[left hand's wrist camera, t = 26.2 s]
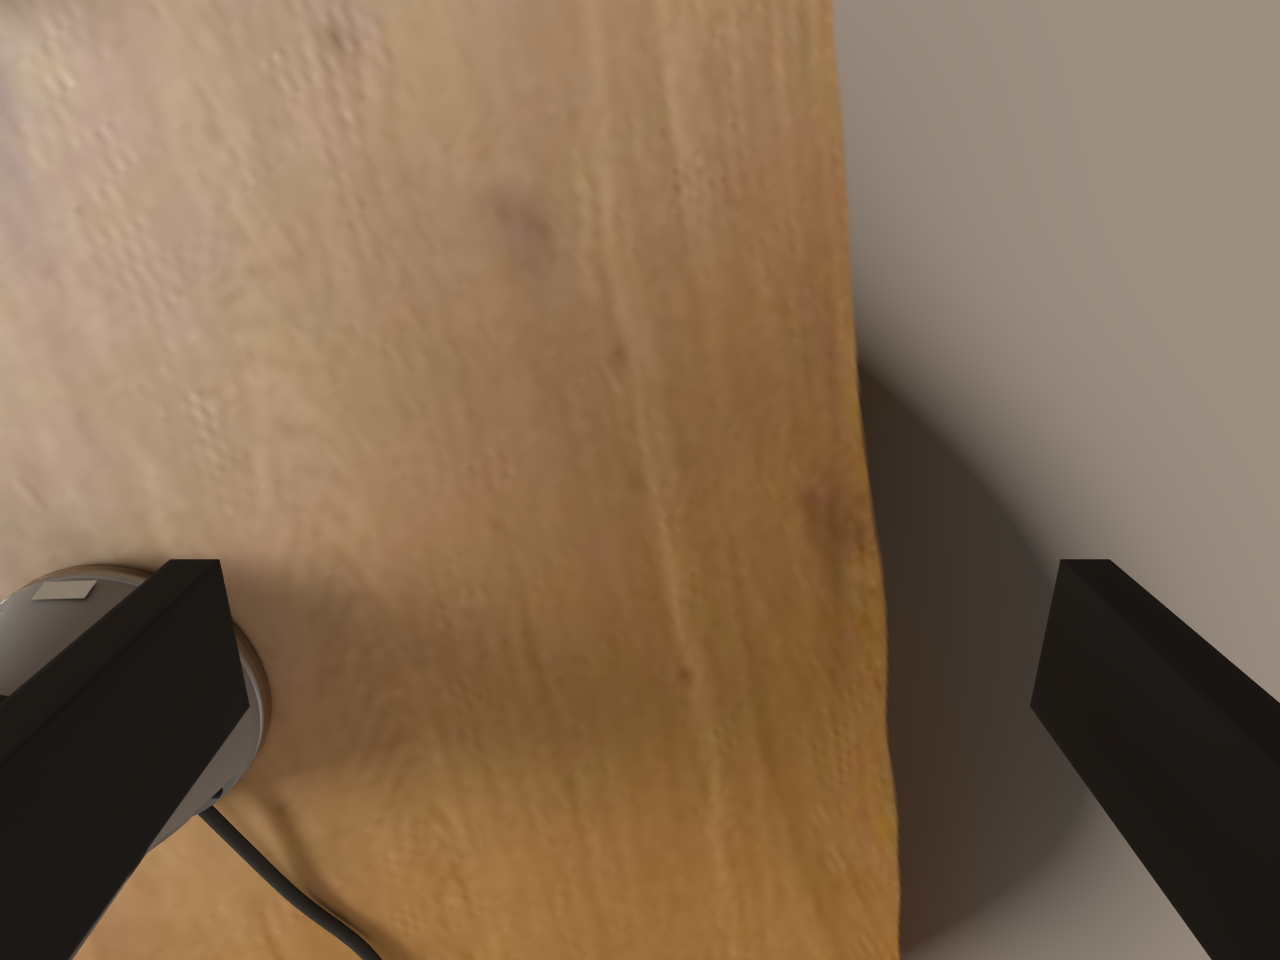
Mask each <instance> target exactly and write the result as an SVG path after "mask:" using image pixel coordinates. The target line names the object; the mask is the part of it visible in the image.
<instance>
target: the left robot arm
mask: <svg viewBox="0 0 1280 960" xmlns="http://www.w3.org/2000/svg"><path fill="white" fill-rule="evenodd" d="M1030 707H1031V708H1032V710H1033V711H1034V713H1035V714H1036V715H1037V717H1038V718H1039V720H1040V721H1041V722H1042V724H1043V725H1044V727H1045V728H1046V729H1047V731H1048V732H1049V734H1050V735H1051V736H1052V738H1053V739H1054V741H1055V742H1056V743H1057V745H1058V746H1059V748H1060V749H1061V750H1062V752H1063V753H1064V754H1065V756H1066V757H1067V759H1068V760H1069V761H1070V763H1071V764H1072V766H1073V767H1074V768H1075V770H1076V771H1077V773H1078V774H1079V775H1080V777H1081V778H1082V780H1083V781H1084V782H1085V784H1086V785H1087V787H1088V788H1089V789H1090V791H1091V792H1092V794H1093V795H1094V796H1095V798H1096V799H1097V800H1098V802H1099V803H1100V805H1101V806H1102V807H1103V809H1104V810H1105V811H1106V813H1107V814H1108V816H1109V817H1110V819H1111V820H1112V821H1113V823H1114V824H1115V826H1116V827H1117V828H1118V830H1119V831H1120V833H1121V834H1122V835H1123V837H1124V838H1125V839H1126V841H1127V842H1128V844H1129V845H1130V846H1131V848H1132V849H1133V851H1134V852H1135V853H1136V855H1137V856H1138V858H1139V859H1140V860H1141V862H1142V863H1143V865H1144V866H1145V867H1146V869H1147V870H1148V872H1149V873H1150V874H1151V876H1152V877H1153V879H1154V880H1155V881H1156V883H1157V884H1158V886H1159V887H1160V888H1161V890H1162V891H1163V892H1164V894H1165V895H1166V897H1167V898H1168V899H1169V901H1170V902H1171V904H1172V905H1173V906H1174V908H1175V909H1176V911H1177V912H1178V913H1179V915H1180V916H1181V918H1182V919H1183V920H1184V922H1185V923H1186V925H1187V926H1188V927H1189V929H1190V930H1191V931H1192V933H1193V934H1194V936H1195V937H1196V938H1197V940H1198V941H1199V943H1200V944H1201V945H1202V947H1203V948H1204V950H1205V951H1206V952H1207V954H1208V955H1209V957H1210V958H1211V959H1212V960H1280V703H1279V702H1278V701H1277V700H1275V699H1274V698H1273V697H1272V696H1271V695H1270V694H1268V693H1267V692H1266V691H1265V690H1264V689H1262V688H1261V687H1260V686H1259V685H1258V684H1257V683H1255V682H1254V681H1253V680H1252V679H1251V678H1249V677H1248V676H1247V675H1246V674H1245V673H1243V672H1242V671H1241V670H1240V669H1239V668H1238V667H1236V666H1235V665H1234V664H1233V663H1232V662H1230V661H1229V660H1228V659H1227V658H1226V657H1225V656H1223V655H1222V654H1221V653H1220V652H1219V651H1217V650H1216V649H1215V648H1214V647H1213V646H1212V645H1210V644H1209V643H1208V642H1207V641H1206V640H1204V639H1203V638H1202V637H1201V636H1200V635H1199V634H1197V633H1196V632H1195V631H1194V630H1193V629H1191V628H1190V627H1189V626H1188V625H1187V624H1185V623H1184V622H1183V621H1182V620H1181V619H1179V618H1178V617H1177V616H1176V615H1175V614H1174V613H1172V612H1171V611H1170V610H1169V609H1168V608H1166V607H1165V606H1164V605H1163V604H1162V603H1161V602H1159V601H1158V600H1157V599H1156V598H1155V597H1153V596H1152V595H1151V594H1150V593H1149V592H1148V591H1146V590H1145V589H1144V588H1143V587H1142V586H1140V585H1139V584H1138V583H1137V582H1136V581H1135V580H1133V579H1132V578H1131V577H1130V576H1129V575H1127V574H1126V573H1125V572H1124V571H1123V570H1122V569H1120V568H1119V567H1118V566H1117V565H1116V564H1114V563H1113V562H1112V561H1111V560H1109V559H1061V560H1060V565H1059V569H1058V574H1057V579H1056V584H1055V589H1054V593H1053V598H1052V603H1051V608H1050V613H1049V618H1048V622H1047V627H1046V632H1045V637H1044V641H1043V646H1042V651H1041V656H1040V661H1039V665H1038V670H1037V675H1036V680H1035V685H1034V689H1033V694H1032V699H1031V704H1030ZM270 720H271V696H270V689H269V685H268V681H267V677H266V674H265V672H264V669H263V666H262V664H261V662H260V660H259V658H258V656H257V654H256V653H255V651H254V649H253V648H252V646H251V645H250V643H249V642H248V640H247V639H246V638H245V636H244V635H243V634H242V633H241V631H240V630H239V629H238V628H237V627H236V626H235V625H234V624H233V622H232V617H231V613H230V608H229V603H228V598H227V593H226V588H225V584H224V579H223V574H222V569H221V564H220V560H219V559H170V560H169V561H168V562H167V563H166V564H164V565H163V566H162V567H161V568H160V569H158V570H157V571H156V572H155V573H154V574H150V573H147V572H144V571H139V570H135V569H130V568H124V567H116V566H101V565H95V566H80V567H73V568H67V569H63V570H59V571H55V572H52V573H50V574H47V575H44V576H42V577H40V578H38V579H36V580H34V581H32V582H30V583H29V584H27V585H26V586H24V587H22V588H21V589H20V590H18V591H17V592H15V593H14V594H12V595H11V596H9V597H8V598H6V599H5V600H4V601H3V602H1V603H0V960H72V959H73V958H74V957H75V955H76V954H77V952H78V951H79V949H80V948H81V946H82V945H83V944H84V942H85V941H86V939H87V938H88V936H89V935H90V933H91V932H92V931H93V929H94V928H95V926H96V925H97V923H98V922H99V920H100V919H101V918H102V916H103V915H104V913H105V912H106V910H107V909H108V907H109V906H110V905H111V903H112V902H113V900H114V899H115V897H116V896H117V894H118V893H119V892H120V890H121V889H122V887H123V886H124V884H125V883H126V882H127V880H128V879H129V877H130V876H131V875H132V873H133V872H134V870H135V869H136V868H137V866H138V865H139V863H140V862H141V861H142V859H143V858H144V856H145V855H146V854H147V853H148V852H149V851H150V850H152V849H153V848H155V847H156V846H157V845H159V844H160V843H161V842H163V841H164V840H165V839H167V838H168V837H169V836H171V835H172V834H173V833H174V832H176V831H177V830H178V829H179V828H181V827H182V826H183V825H184V824H185V823H186V822H187V821H188V820H189V819H190V818H191V817H192V816H194V815H197V814H198V815H199V816H200V817H201V818H202V819H203V820H204V821H205V822H206V823H207V824H208V825H209V826H210V827H211V828H212V829H213V830H214V831H215V832H216V833H217V834H218V835H219V836H220V837H221V838H223V839H224V840H225V841H226V842H227V843H228V844H229V845H230V846H231V847H232V848H233V849H234V850H235V851H236V852H237V853H238V854H239V855H240V856H241V857H242V858H243V859H244V860H245V861H246V862H247V863H248V864H249V865H250V866H251V867H252V868H253V869H254V870H255V871H257V872H258V873H259V874H260V875H261V876H262V877H263V878H264V879H265V880H266V881H267V882H268V883H269V884H270V885H271V886H272V887H273V888H274V889H275V890H277V891H278V892H279V893H280V894H281V895H282V896H283V897H284V898H285V899H287V900H288V901H289V902H290V903H291V904H292V905H294V906H295V907H296V908H297V909H299V910H300V911H301V912H302V913H304V914H305V915H306V916H308V917H309V918H310V919H312V920H313V921H315V922H316V923H317V924H319V925H320V926H322V927H323V928H324V929H326V930H327V931H329V932H330V933H331V934H333V935H334V936H336V937H337V938H338V939H340V940H341V941H342V942H343V943H345V944H346V945H347V946H349V947H350V948H351V949H352V950H353V951H354V952H355V953H356V954H357V955H359V956H360V957H361V958H362V959H363V960H382V959H381V958H380V957H379V956H378V954H377V953H376V952H375V951H374V950H373V949H372V948H371V946H370V945H368V944H367V943H366V942H365V941H364V940H363V939H362V938H361V937H360V936H359V935H358V934H356V933H355V932H354V931H353V930H351V929H350V928H349V927H348V926H346V925H345V924H344V923H342V922H341V921H339V920H338V919H337V918H335V917H334V916H332V915H331V914H330V913H328V912H327V911H325V910H324V909H323V908H321V907H320V906H319V905H317V904H316V903H315V902H313V901H312V900H311V899H309V898H308V897H307V896H306V895H304V894H303V893H302V892H301V891H300V890H299V889H298V888H296V887H295V886H294V885H293V884H292V883H291V882H290V881H289V880H288V879H287V878H285V877H284V876H283V875H282V874H281V873H280V872H279V871H278V870H277V869H276V868H275V867H274V866H273V865H272V864H271V863H270V862H269V861H268V860H267V859H266V858H265V857H264V856H263V855H262V854H261V853H260V852H259V851H258V850H257V849H256V848H255V847H254V846H253V845H252V844H251V843H250V842H249V841H248V840H247V839H246V838H245V837H244V836H243V835H242V834H241V833H240V832H239V831H238V830H237V829H236V828H235V827H234V826H233V825H232V824H231V823H230V822H229V821H228V820H227V819H226V818H225V817H224V816H223V815H222V814H221V813H220V812H219V811H218V810H217V809H216V808H215V807H214V806H213V804H214V803H216V802H217V801H218V800H220V799H221V798H222V797H223V796H224V795H225V794H226V793H227V792H229V791H230V790H231V788H232V787H233V786H234V785H235V784H236V783H237V782H238V781H239V780H240V779H241V778H242V776H243V775H244V774H245V772H246V771H247V770H248V768H249V767H250V765H251V764H252V762H253V761H254V759H255V758H256V756H257V754H258V753H259V751H260V749H261V748H262V746H263V744H264V742H265V739H266V736H267V734H268V730H269V726H270Z"/></svg>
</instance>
